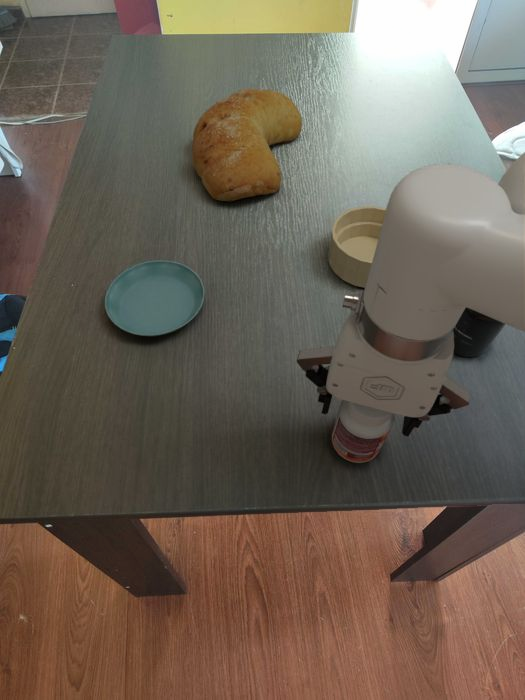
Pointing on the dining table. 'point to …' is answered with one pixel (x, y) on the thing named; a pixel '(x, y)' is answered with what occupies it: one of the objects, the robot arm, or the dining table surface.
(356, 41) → the dining table surface
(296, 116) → the bread
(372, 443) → the pill bottle
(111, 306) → the saucer
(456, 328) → the supplement bottle
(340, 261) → the beige round bowl
